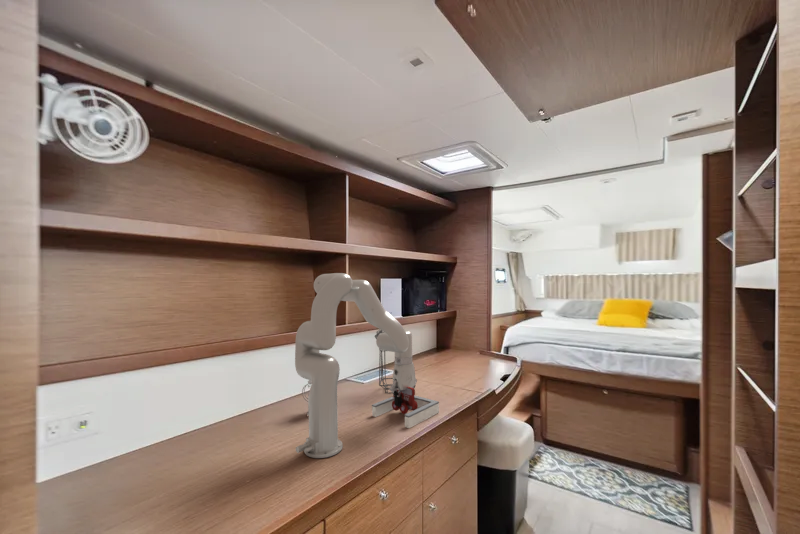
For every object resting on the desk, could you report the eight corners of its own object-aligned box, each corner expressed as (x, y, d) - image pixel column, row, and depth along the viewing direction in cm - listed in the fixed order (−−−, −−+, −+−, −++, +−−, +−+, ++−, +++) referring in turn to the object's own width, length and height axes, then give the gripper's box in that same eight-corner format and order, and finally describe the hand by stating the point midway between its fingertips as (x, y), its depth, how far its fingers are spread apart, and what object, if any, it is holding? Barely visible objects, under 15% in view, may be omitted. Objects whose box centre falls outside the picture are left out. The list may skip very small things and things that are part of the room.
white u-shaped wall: (409, 428, 132) (408, 416, 132) (372, 415, 145) (371, 404, 145) (439, 412, 147) (438, 401, 147) (403, 402, 160) (402, 392, 160)
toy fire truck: (400, 404, 152) (400, 380, 153) (420, 412, 143) (420, 386, 143) (388, 408, 148) (388, 383, 148) (408, 416, 138) (407, 389, 139)
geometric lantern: (408, 395, 170) (404, 324, 171) (376, 396, 170) (373, 325, 171) (408, 385, 186) (405, 320, 187) (379, 386, 186) (375, 321, 187)
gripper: (396, 365, 137) (397, 411, 136) (423, 358, 150) (423, 399, 149) (382, 363, 142) (383, 407, 141) (409, 356, 155) (410, 396, 154)
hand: (404, 403), depth 145 cm, fingers closed on toy fire truck, 7 cm apart
